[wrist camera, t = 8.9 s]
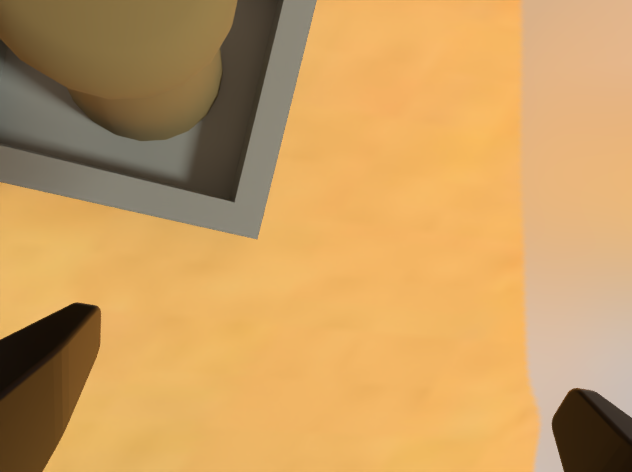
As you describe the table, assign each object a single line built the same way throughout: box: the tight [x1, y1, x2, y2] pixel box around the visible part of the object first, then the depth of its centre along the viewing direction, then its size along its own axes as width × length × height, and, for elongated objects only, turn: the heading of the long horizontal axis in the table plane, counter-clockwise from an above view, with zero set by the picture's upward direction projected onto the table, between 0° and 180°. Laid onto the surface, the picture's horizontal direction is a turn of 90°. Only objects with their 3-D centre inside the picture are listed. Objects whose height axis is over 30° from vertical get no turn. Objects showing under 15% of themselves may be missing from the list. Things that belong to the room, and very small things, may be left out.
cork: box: [0, 0, 237, 141], centre depth 13 cm, size 6×6×11 cm
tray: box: [0, 0, 317, 239], centre depth 18 cm, size 11×11×2 cm
